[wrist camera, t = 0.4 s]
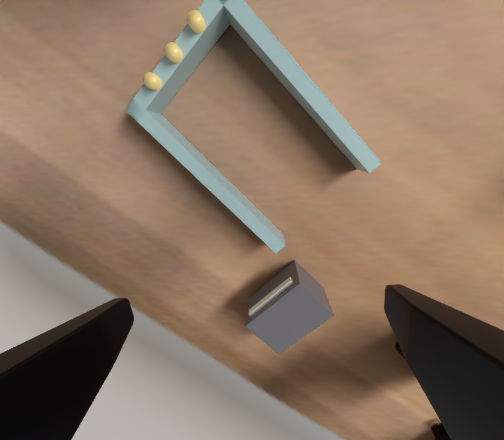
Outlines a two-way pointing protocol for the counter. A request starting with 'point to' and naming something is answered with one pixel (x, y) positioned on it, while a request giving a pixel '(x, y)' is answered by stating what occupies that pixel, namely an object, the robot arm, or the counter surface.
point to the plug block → (287, 308)
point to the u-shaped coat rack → (279, 63)
